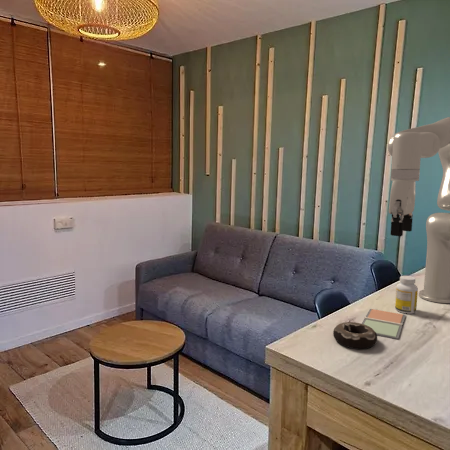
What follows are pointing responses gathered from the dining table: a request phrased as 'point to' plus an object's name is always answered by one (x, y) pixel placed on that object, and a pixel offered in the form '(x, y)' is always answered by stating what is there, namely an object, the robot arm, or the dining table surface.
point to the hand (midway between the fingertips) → (401, 233)
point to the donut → (355, 335)
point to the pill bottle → (406, 295)
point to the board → (384, 323)
